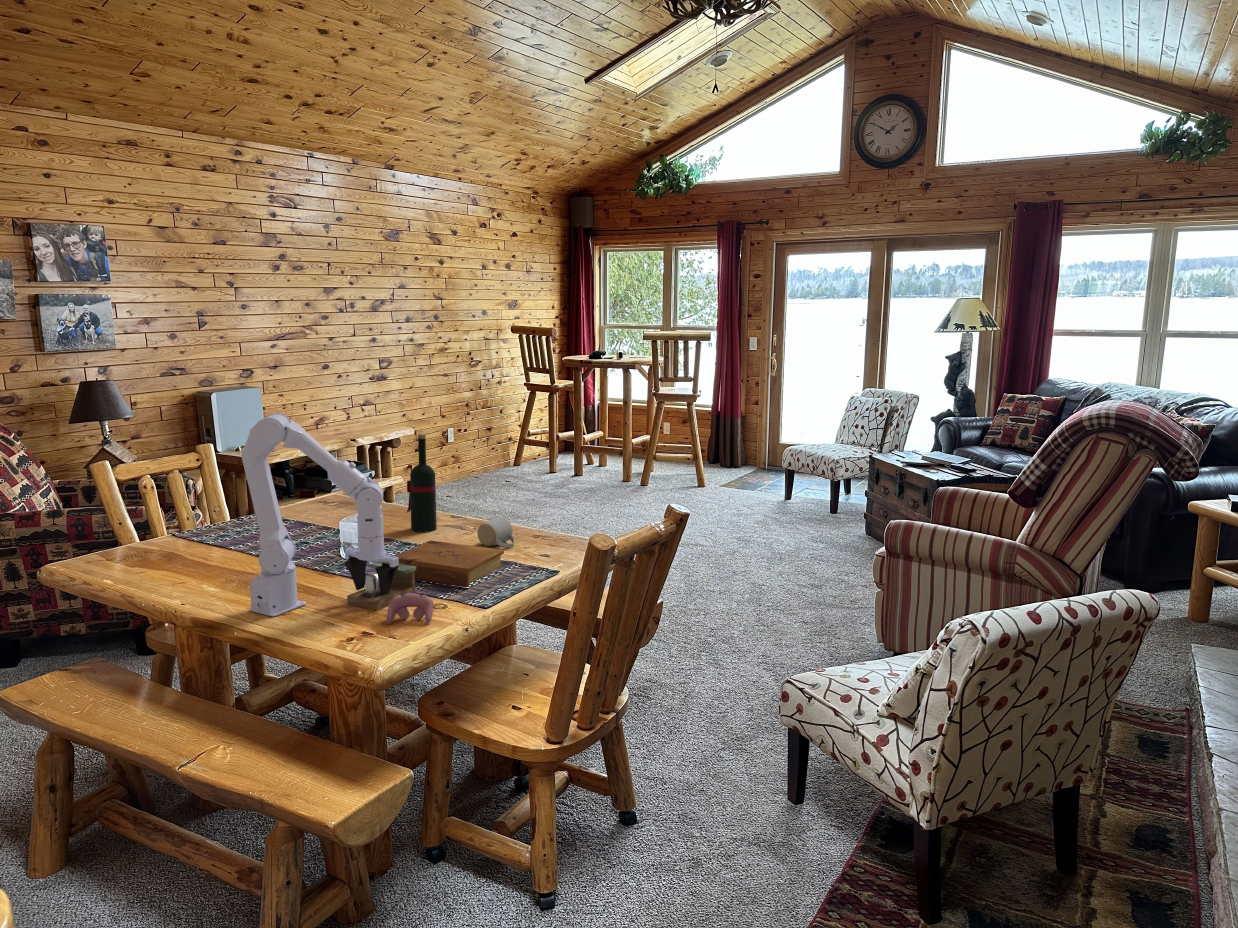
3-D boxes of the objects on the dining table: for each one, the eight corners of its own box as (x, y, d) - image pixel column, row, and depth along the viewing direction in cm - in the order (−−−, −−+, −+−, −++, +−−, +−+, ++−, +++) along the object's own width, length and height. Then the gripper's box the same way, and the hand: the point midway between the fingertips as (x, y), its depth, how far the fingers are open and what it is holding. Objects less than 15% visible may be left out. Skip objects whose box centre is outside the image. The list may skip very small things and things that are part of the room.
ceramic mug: (475, 545, 239) (475, 519, 237) (492, 538, 246) (493, 514, 244) (503, 551, 234) (504, 525, 232) (521, 545, 240) (521, 519, 239)
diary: (389, 579, 208) (388, 558, 207) (430, 560, 225) (430, 540, 224) (467, 591, 200) (467, 568, 199) (504, 570, 217) (503, 549, 216)
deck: (378, 610, 184) (377, 581, 183) (345, 603, 189) (344, 574, 188) (416, 594, 196) (416, 566, 195) (384, 587, 200) (384, 560, 199)
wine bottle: (415, 523, 261) (413, 431, 255) (441, 527, 257) (440, 434, 251) (399, 529, 254) (397, 434, 248) (426, 533, 250) (424, 437, 244)
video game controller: (433, 625, 181) (435, 594, 183) (430, 623, 176) (432, 591, 178) (389, 625, 180) (391, 593, 182) (384, 623, 176) (386, 591, 178)
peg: (381, 602, 190) (381, 573, 189) (371, 605, 188) (370, 576, 186) (373, 599, 192) (372, 571, 190) (363, 603, 189) (362, 574, 188)
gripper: (407, 535, 187) (408, 591, 190) (359, 527, 193) (361, 581, 196) (385, 542, 181) (387, 600, 183) (337, 533, 187) (339, 590, 190)
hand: (372, 591), depth 189 cm, fingers open, 7 cm apart
